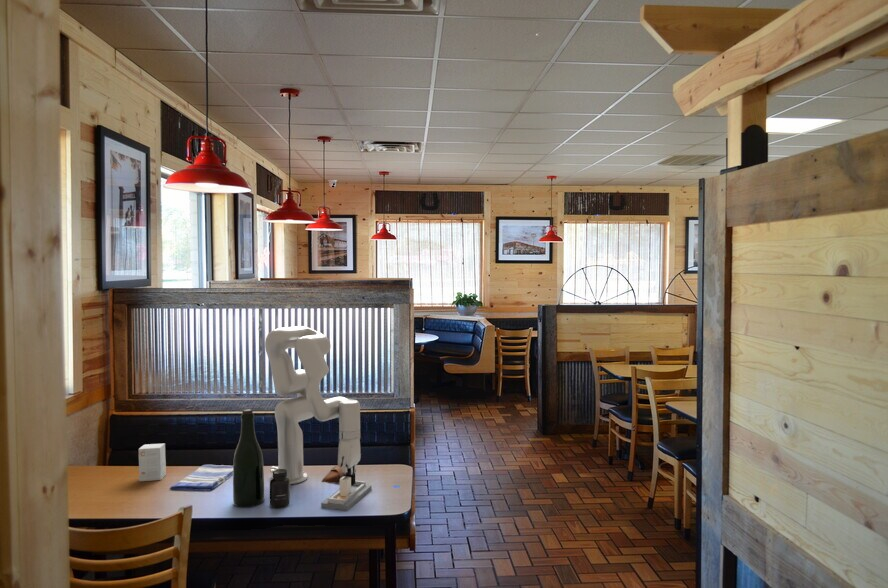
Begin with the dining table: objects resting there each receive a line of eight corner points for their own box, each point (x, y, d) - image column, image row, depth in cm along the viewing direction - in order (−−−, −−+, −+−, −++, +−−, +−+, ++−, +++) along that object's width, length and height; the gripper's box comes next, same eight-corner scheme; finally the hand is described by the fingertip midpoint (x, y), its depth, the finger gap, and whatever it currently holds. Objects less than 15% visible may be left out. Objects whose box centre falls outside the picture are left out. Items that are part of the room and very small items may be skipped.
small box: (166, 474, 226) (165, 443, 226) (160, 480, 220) (160, 447, 220) (144, 476, 225) (144, 444, 225) (138, 481, 219) (138, 448, 219)
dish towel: (241, 470, 232) (241, 464, 232) (212, 492, 209) (212, 485, 209) (201, 469, 234) (201, 463, 234) (168, 491, 210) (168, 483, 210)
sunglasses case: (334, 466, 235) (342, 453, 234) (348, 475, 234) (356, 462, 234) (320, 482, 217) (328, 468, 216) (335, 492, 216) (343, 477, 216)
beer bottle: (250, 494, 205) (249, 405, 204) (270, 500, 200) (269, 408, 199) (226, 504, 196) (225, 411, 195) (246, 510, 191) (245, 414, 190)
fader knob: (347, 496, 198) (347, 479, 198) (339, 495, 199) (339, 478, 199) (351, 493, 201) (350, 476, 201) (343, 492, 202) (343, 475, 202)
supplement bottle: (279, 510, 191) (278, 475, 191) (265, 506, 195) (265, 472, 194) (294, 503, 197) (293, 469, 196) (280, 499, 200) (280, 466, 200)
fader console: (347, 510, 190) (347, 501, 190) (321, 507, 193) (321, 498, 193) (371, 489, 209) (371, 481, 209) (347, 486, 212) (347, 478, 212)
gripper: (349, 428, 211) (350, 476, 212) (330, 439, 197) (331, 490, 198) (367, 429, 209) (368, 478, 210) (350, 440, 195) (350, 492, 195)
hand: (350, 484), depth 204 cm, fingers closed
